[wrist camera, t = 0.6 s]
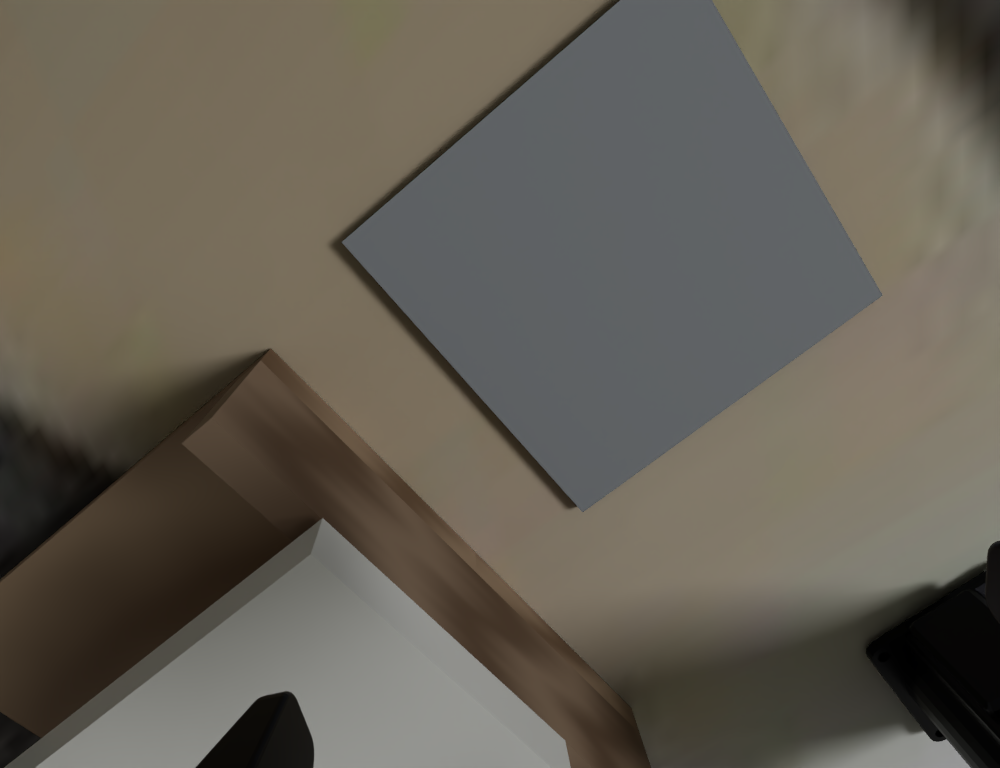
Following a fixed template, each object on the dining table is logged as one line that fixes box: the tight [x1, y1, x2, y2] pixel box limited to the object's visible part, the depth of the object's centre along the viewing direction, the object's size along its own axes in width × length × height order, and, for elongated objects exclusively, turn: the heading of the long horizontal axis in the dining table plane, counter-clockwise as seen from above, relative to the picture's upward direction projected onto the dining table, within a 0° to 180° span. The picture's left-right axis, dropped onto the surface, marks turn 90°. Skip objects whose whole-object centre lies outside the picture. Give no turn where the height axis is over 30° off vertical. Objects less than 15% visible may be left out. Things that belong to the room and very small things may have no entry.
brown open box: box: [0, 349, 651, 768], centre depth 22 cm, size 20×16×6 cm
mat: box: [342, 0, 882, 512], centre depth 20 cm, size 12×12×1 cm
